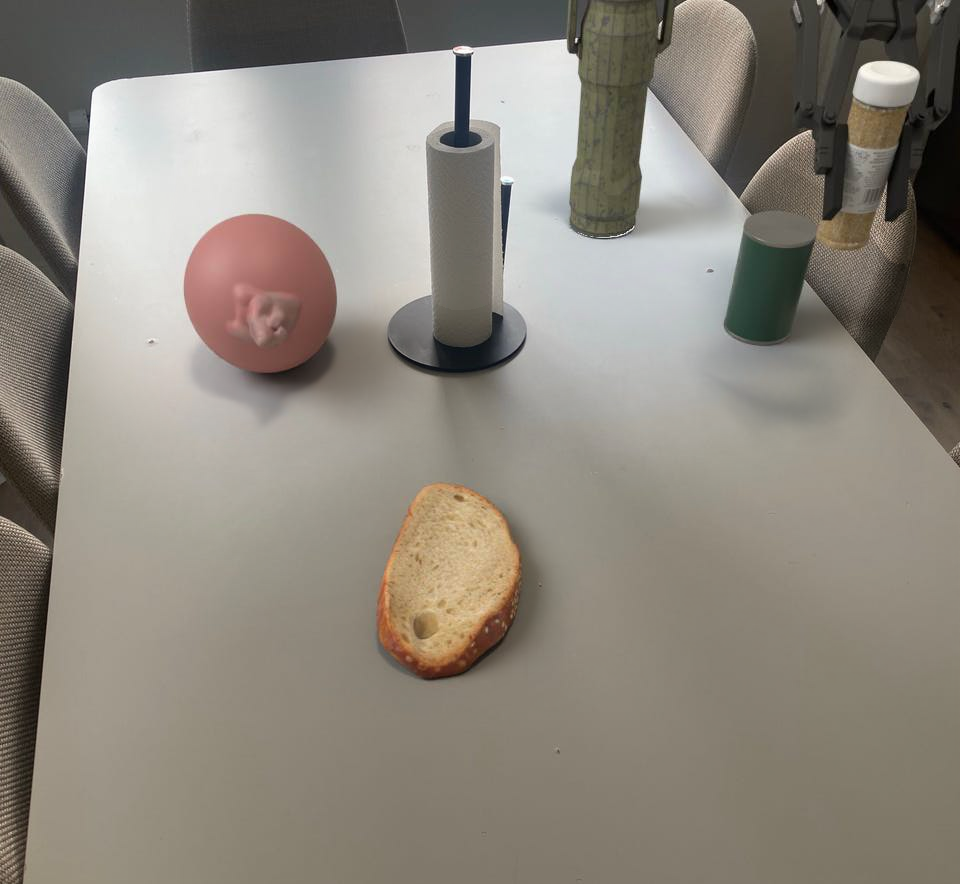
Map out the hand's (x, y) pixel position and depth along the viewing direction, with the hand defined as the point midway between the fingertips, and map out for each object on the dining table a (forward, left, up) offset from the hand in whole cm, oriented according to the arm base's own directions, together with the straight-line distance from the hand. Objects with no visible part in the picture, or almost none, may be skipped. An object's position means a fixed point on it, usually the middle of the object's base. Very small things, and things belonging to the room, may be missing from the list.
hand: (863, 214), depth 76 cm
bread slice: (+29, +27, -22) cm, 46 cm away
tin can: (+5, -20, -22) cm, 30 cm away
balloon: (+55, +1, -22) cm, 59 cm away
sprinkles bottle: (+1, -4, -4) cm, 6 cm away
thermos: (+26, -41, -22) cm, 53 cm away
